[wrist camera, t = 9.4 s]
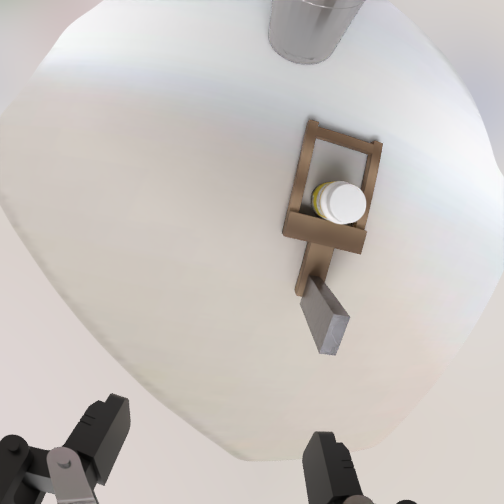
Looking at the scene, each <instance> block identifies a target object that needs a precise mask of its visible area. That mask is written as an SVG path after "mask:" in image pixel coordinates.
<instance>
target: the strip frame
mask: <svg viewBox="0 0 504 504" xmlns="http://www.w3.org/2000/svg"><path fill="white" fill-rule="evenodd" d="M318 125H319V122H317V121H313V120H309V121H308V122H307V126H306V131H305V135H304V140H303V144H302V149H301V153H300V158H299V162H298V167H297V171H296V175H295V180H294V184H293V189H292V193H291V197H290V201H289V206H288V210H287V214H286V218H285V222H284V227H283V231H282V234H283V235H284V236H285V237H290V238H294V239H298V240H303V241H307V242H308V243H307V247H306V251H305V254H304V258H303V262H302V266H301V269H300V273H299V277H298V280H297V284H296V287H295V293H296V295H297V296H301V297H302V299H301V302H300V305H301V308H302V310H303V313H304V315H305V318H306V320H307V323H308V326H309V328H310V331H311V333H312V336H313V338H314V341H315V343H316V346H317V349H318V351H319V353H320V354H327V355H336V353H337V350H338V348H339V345H340V343H341V340H342V337H343V335H344V332H345V329H346V327H347V324H348V321H349V319H350V316H349V315H348V313H347V312H346V311H345V309H344V308H343V307H342V305H341V304H340V303H339V301H338V300H337V298H336V297H335V296H334V294H333V293H332V292H331V290H330V289H329V288H328V286H327V285H326V284H325V279H326V275H327V272H328V268H329V265H330V261H331V258H332V254H333V251H334V248H336V249H340V250H345V251H349V252H353V253H357V254H361V252H362V248H363V245H364V241H365V237H366V233H367V231H365V230H364V229H365V225H366V221H367V217H368V213H369V209H370V205H371V200H372V196H373V191H374V187H375V182H376V177H377V173H378V168H379V162H380V157H381V152H382V146H383V143H380V142H377V141H372V142H370V143H368V142H365V141H362V140H359V139H356V138H353V137H350V136H347V135H344V134H341V133H338V132H335V131H331V130H328V129H325V128H321V127H318ZM316 138H317V139H320V140H324V141H327V142H331V143H334V144H337V145H340V146H343V147H347V148H350V149H353V150H356V151H359V152H362V153H365V154H367V155H368V158H367V163H366V168H365V173H364V178H363V182H362V187H361V191H362V192H363V193H364V195H365V198H366V210H365V212H364V214H363V216H362V217H361V218H360V219H359V220H357V221H356V222H353V225H352V226H349V225H345V224H336V223H333V222H331V221H328V220H325V219H322V218H319V217H315V216H311V215H307V214H303V213H299V209H300V205H301V201H302V197H303V192H304V188H305V184H306V179H307V175H308V171H309V166H310V162H311V157H312V153H313V148H314V143H315V139H316Z"/></svg>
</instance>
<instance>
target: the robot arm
mask: <svg viewBox="0 0 504 504" xmlns="http://www.w3.org/2000/svg"><path fill="white" fill-rule="evenodd" d="M364 1H365V0H272V7H271V17H270V25H269V41H270V44H271V45H272V47H273V49H274V50H275V51H276V52H277V53H278V54H279V55H281V56H282V57H283V58H285V59H287V60H289V61H292V62H295V63H299V64H316V63H319V62H322V61H324V60H326V59H327V58H328V57H329V56H330V55H331V54H332V52H333V51H334V49H335V47H336V46H337V44H338V43H339V41H340V40H341V38H342V36H343V35H344V33H345V31H346V30H347V28H348V27H349V25H350V23H351V22H352V20H353V19H354V17H355V15H356V14H357V12H358V11H359V9H360V7H361V6H362V4H363V3H364ZM129 429H130V411H129V400H128V398H124V397H121V396H118V395H115V394H113V393H112V394H110V395H109V397H108V399H107V400H106V402H102V401H99V400H98V401H96V402H95V403H93V404H92V405H90V406H89V407H88V409H87V410H86V412H85V413H84V415H83V416H82V418H81V419H80V422H78V424H77V425H76V427H75V429H74V430H73V432H72V433H71V435H70V436H69V438H68V439H67V441H66V443H65V444H64V445H63V446H62V447H57V448H54V449H52V450H43V449H39V448H35V447H30V446H28V444H27V442H26V441H25V440H24V439H23V438H22V437H20V436H18V435H8V436H5V437H4V438H3V439H2V440H1V441H0V504H41V502H42V500H43V498H44V496H45V494H46V492H48V493H52V494H55V496H56V499H57V503H58V504H99V502H98V500H97V497H96V495H95V492H94V487H95V486H96V484H97V483H98V484H101V485H103V486H104V485H105V483H106V481H107V479H108V476H109V474H110V472H111V470H112V467H113V465H114V463H115V461H116V459H117V456H118V454H119V452H120V450H121V447H122V445H123V443H124V441H125V439H126V437H127V434H128V432H129ZM302 463H303V469H304V475H305V481H306V488H307V495H308V501H309V504H374V503H373V502H372V500H371V499H369V498H368V497H366V496H364V495H363V493H362V491H361V487H360V484H359V481H358V478H357V475H356V471H355V469H354V465H353V462H352V461H351V456H350V453H349V450H348V449H347V448H346V447H345V446H344V444H343V443H336V440H335V436H334V434H333V432H317V431H316V432H314V434H313V436H312V438H311V439H310V441H309V443H308V445H307V447H306V449H305V451H304V453H303V459H302ZM397 504H416V503H415V502H413V501H411V500H402V501H399V502H398V503H397Z"/></svg>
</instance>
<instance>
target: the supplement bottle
mask: <svg viewBox="0 0 504 504" xmlns="http://www.w3.org/2000/svg"><path fill="white" fill-rule="evenodd" d="M311 206H312V209H313V211H314V212H315V213H316V214H317V215H318V216H319V217H321V218H323V219H325V220H328V221H331V222H333V223H336V224H347V223H353V222H356V221H357V220H359V219H360V218H361V217H362V216H363V214H364V212H365V210H366V198H365V195H364V193H363V192H362V191H361V189H360V188H358V187H357V186H355V185H352V184H350V183H348V182H345V181H335V182H327V183H323V184H320V185H319V186H317V187H316V188H315V189H314V191H313V193H312V195H311Z"/></svg>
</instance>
